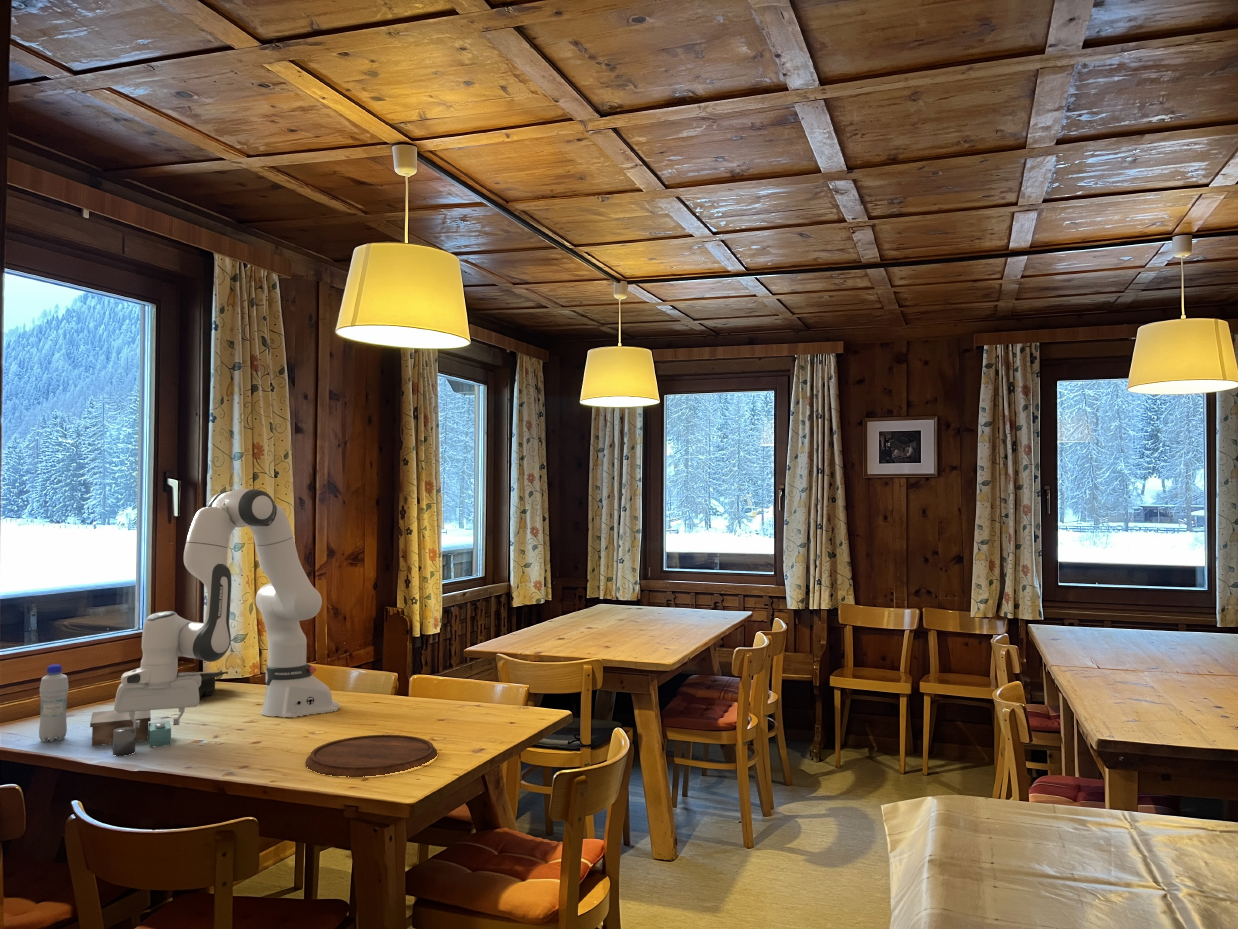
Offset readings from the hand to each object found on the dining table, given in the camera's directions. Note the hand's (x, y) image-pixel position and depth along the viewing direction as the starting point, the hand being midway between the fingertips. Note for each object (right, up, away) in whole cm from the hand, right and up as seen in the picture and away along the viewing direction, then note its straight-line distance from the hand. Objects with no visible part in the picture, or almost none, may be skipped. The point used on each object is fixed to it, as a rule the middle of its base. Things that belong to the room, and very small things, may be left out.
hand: (156, 726), depth 241 cm
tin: (-3, -4, -11) cm, 12 cm away
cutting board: (+61, -5, -14) cm, 63 cm away
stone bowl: (-19, -7, +56) cm, 60 cm away
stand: (-12, -4, +5) cm, 14 cm away
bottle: (-29, -4, +2) cm, 29 cm away
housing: (+1, -4, 0) cm, 4 cm away
